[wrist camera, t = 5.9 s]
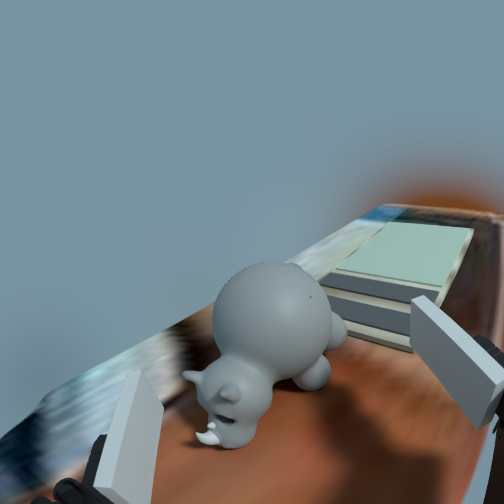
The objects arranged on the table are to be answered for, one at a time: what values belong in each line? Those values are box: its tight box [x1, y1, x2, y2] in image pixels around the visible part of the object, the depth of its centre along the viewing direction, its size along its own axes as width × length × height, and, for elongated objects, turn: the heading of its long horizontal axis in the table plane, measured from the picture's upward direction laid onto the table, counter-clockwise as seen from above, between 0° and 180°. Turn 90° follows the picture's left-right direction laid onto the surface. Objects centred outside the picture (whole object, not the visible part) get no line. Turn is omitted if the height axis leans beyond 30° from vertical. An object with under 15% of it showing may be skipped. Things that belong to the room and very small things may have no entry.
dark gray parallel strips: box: [318, 272, 439, 337], centre depth 26 cm, size 6×12×1 cm, turn 42°
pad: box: [336, 222, 470, 288], centre depth 33 cm, size 15×12×1 cm
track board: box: [317, 222, 474, 353], centre depth 31 cm, size 24×13×1 cm, turn 132°
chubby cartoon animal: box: [181, 262, 347, 449], centre depth 18 cm, size 7×12×8 cm, turn 140°
